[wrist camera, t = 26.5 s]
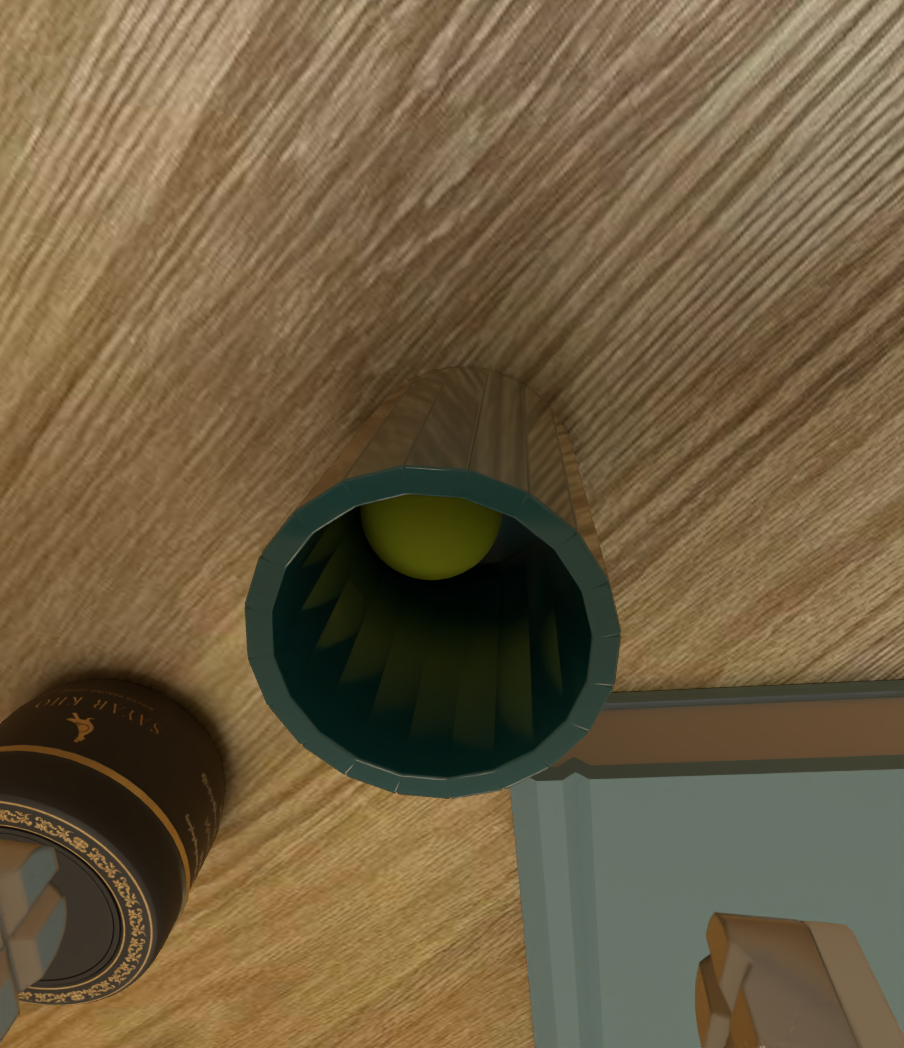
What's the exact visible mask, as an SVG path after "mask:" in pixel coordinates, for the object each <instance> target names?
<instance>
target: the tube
mask: <svg viewBox="0 0 904 1048" xmlns="http://www.w3.org/2000/svg"><path fill="white" fill-rule="evenodd" d="M408 494H409V495H423V496H438V497H453V498H463V499H466V500H468V501H471V502H473V503H476V504H479V505H481V506H484V507H486V508H489V509H492V510H494V511H497V512H500V513H502V523H501V526H500V530H499V533H498V536H497V538H496V540H495V542H494V544H493V545H492V547H491V549H490V550H489V552H488V553H487V554H486V555H485V556H484V558H483V559H482V560H481V561H480V562H478V563H477V564H476V565H475V566H474V567H472V568H470V569H469V570H467V571H465V572H464V573H462V574H459V575H456V576H454V577H451V578H446V579H440V580H423V579H416V578H412V577H409V576H406V575H404V574H401V573H399V572H398V571H396V570H394V569H393V568H391V567H390V566H388V565H387V564H386V563H385V562H384V561H382V560H381V559H380V558H379V557H378V555H377V554H376V553H375V552H374V550H373V549H372V547H371V546H370V544H369V542H368V540H367V538H366V536H365V533H364V530H363V527H362V521H361V515H360V506H362V505H366V504H371V503H375V502H379V501H383V500H387V499H391V498H395V497H400V496H404V495H408ZM245 622H246V638H247V654H248V660H249V662H250V665H251V667H252V670H253V672H254V674H255V677H256V679H257V682H258V684H259V687H260V689H261V691H262V694H263V696H264V699H265V701H266V703H267V705H269V707H270V709H271V710H272V711H273V712H274V713H275V715H276V716H277V717H278V718H279V719H280V721H281V722H282V723H283V724H284V725H285V727H286V728H287V729H288V730H289V731H290V733H291V734H292V735H293V736H294V737H295V738H296V740H297V741H298V742H299V743H300V744H303V747H304V748H306V749H307V750H309V751H310V752H311V753H313V754H314V755H316V756H317V757H319V758H320V759H322V760H323V761H325V762H326V763H328V764H329V765H331V766H332V767H333V768H335V769H336V770H338V771H339V772H341V773H342V774H347V776H348V777H350V778H353V779H356V780H359V781H361V782H364V783H367V784H370V785H373V786H376V787H378V788H381V789H384V790H387V791H390V792H392V793H396V792H397V793H398V794H400V795H411V796H422V797H433V798H445V799H449V798H450V797H451V798H452V799H454V798H460V797H466V796H472V795H478V794H484V793H490V792H495V791H501V790H502V789H503V788H504V789H506V788H508V787H511V786H513V785H515V784H517V783H519V782H521V781H523V780H525V779H528V778H530V777H532V776H534V775H536V774H538V773H540V772H542V771H544V770H547V769H548V768H549V767H550V766H553V765H554V764H555V763H556V762H557V761H558V760H560V759H561V758H562V757H563V756H564V755H565V754H566V753H567V752H568V751H569V750H570V749H572V748H573V747H574V746H575V745H576V744H577V743H578V742H579V741H580V740H581V739H582V738H584V737H585V736H586V735H587V733H588V731H590V730H591V728H592V726H593V724H594V723H595V721H596V719H597V717H598V715H599V713H600V712H601V710H602V708H603V706H604V704H605V702H606V700H607V699H608V697H609V695H610V693H611V691H612V689H613V685H614V683H615V677H616V670H617V663H618V656H619V649H620V642H621V635H620V633H621V629H620V624H619V620H618V615H617V611H616V606H615V602H614V598H613V593H612V589H611V584H610V580H609V577H608V573H607V569H606V566H605V562H604V559H603V555H602V551H601V548H600V544H599V540H598V537H597V533H596V530H595V526H594V522H593V519H592V515H591V511H590V508H589V504H588V501H587V497H586V493H585V490H584V486H583V482H582V479H581V475H580V472H579V468H578V464H577V461H576V457H575V453H574V450H573V446H572V442H571V440H570V437H569V435H568V433H567V432H566V429H565V427H564V426H563V424H562V422H561V420H560V418H559V417H558V415H557V414H556V413H555V411H554V410H553V409H552V407H551V406H550V405H549V404H548V403H547V402H546V401H545V400H544V399H543V398H542V397H541V396H540V395H539V394H538V393H537V392H535V391H534V390H533V389H531V388H530V387H529V386H527V385H526V384H524V383H522V382H520V381H519V380H517V379H515V378H513V377H511V376H508V375H506V374H503V373H501V372H497V371H493V370H489V369H486V368H478V367H451V368H444V369H439V370H435V371H432V372H428V373H425V374H423V375H421V376H418V377H416V378H414V379H412V380H410V381H408V382H407V383H405V384H403V385H402V386H400V387H399V388H398V389H397V390H395V391H394V392H393V393H392V394H390V395H389V396H387V397H386V399H384V400H383V402H382V403H381V404H380V405H379V406H378V408H377V409H376V410H375V411H374V413H373V414H372V415H371V416H370V418H369V419H368V420H367V421H366V422H365V424H364V425H363V426H362V427H361V429H360V430H359V431H358V432H357V434H356V435H355V436H354V437H353V438H352V440H351V441H350V442H349V443H348V445H347V446H346V447H345V448H344V450H343V451H342V452H341V453H340V454H339V456H338V457H337V458H336V459H335V461H334V462H333V463H332V464H331V466H330V467H329V468H328V469H327V470H326V472H325V473H324V474H323V475H322V477H321V478H320V479H319V480H318V482H317V483H316V484H315V485H314V486H313V488H312V489H311V490H310V491H309V493H308V494H307V495H306V496H305V498H304V499H303V500H302V501H301V502H300V504H299V505H298V506H297V507H296V509H295V510H294V511H293V512H292V514H291V515H290V516H289V517H288V519H287V520H286V521H285V523H284V524H283V525H282V527H281V528H280V529H279V531H278V532H277V533H276V534H275V536H274V537H273V538H272V540H271V541H270V542H269V544H268V545H267V546H266V547H265V549H264V550H263V551H262V554H261V555H260V557H259V559H258V562H257V565H256V569H255V572H254V575H253V578H252V582H251V585H250V588H249V592H248V595H247V598H246V602H245Z"/></svg>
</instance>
